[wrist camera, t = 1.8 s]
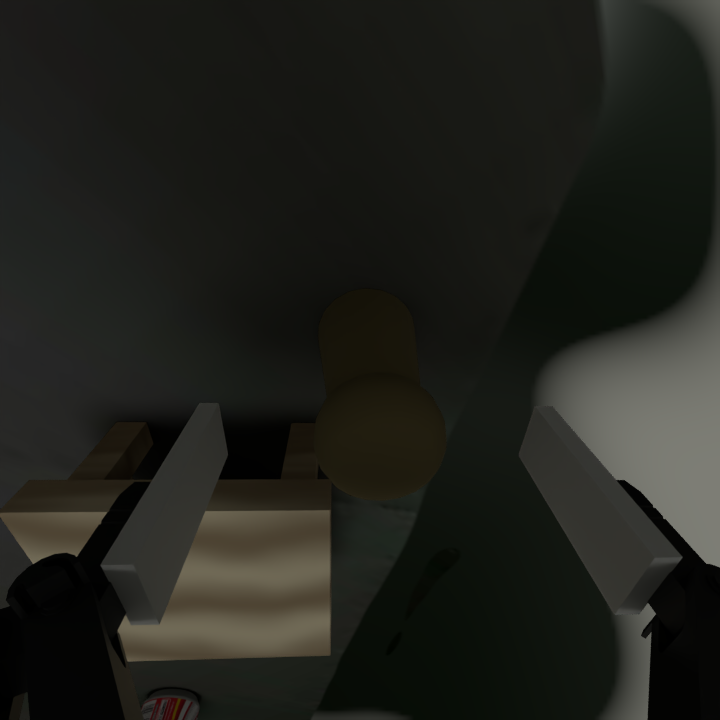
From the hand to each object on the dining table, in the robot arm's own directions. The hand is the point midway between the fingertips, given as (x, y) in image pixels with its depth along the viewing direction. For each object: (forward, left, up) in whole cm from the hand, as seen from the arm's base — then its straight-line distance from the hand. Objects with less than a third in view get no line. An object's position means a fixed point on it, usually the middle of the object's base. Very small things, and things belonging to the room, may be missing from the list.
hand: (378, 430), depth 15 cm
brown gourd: (0, 0, -9) cm, 9 cm away
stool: (+14, -10, -8) cm, 19 cm away
